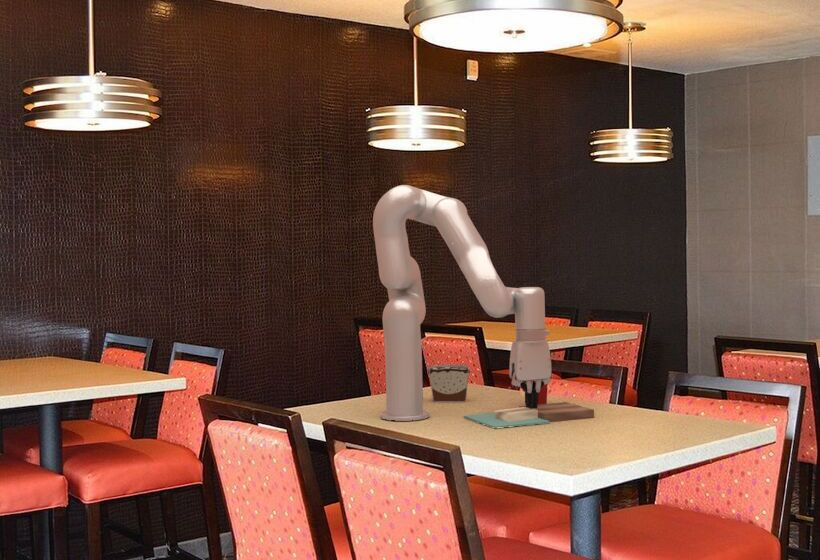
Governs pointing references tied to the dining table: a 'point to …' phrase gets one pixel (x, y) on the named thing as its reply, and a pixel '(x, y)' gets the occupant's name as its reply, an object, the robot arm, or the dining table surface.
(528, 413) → the beige flat block
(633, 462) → the dining table surface
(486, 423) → the mat
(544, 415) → the block
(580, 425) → the dining table surface
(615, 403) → the dining table surface
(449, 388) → the food container
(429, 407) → the dining table surface
